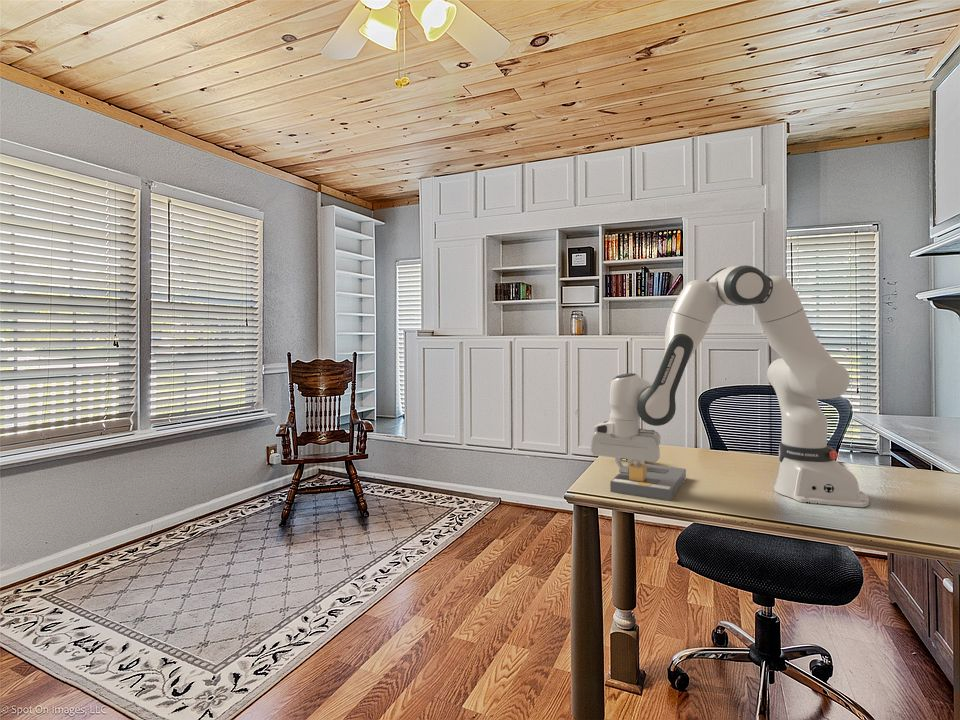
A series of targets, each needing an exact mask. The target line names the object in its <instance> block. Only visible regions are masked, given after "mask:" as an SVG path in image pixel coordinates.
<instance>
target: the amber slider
mask: <svg viewBox="0 0 960 720" xmlns="http://www.w3.org/2000/svg"><path fill="white" fill-rule="evenodd" d="M647 464H648V463H645V464H641V462H638V463H633V464H632V465H630V466H629V480H633V481H641V482H643V481H644V480H645V479H646V478H647Z"/></svg>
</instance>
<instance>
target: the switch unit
mask: <svg viewBox="0 0 960 720" xmlns="http://www.w3.org/2000/svg"><path fill="white" fill-rule="evenodd" d="M646 464H647V478H646V479H645V480H644V481H643V482H641V481H633V480H629V474H627V473H620V472H619V473H618V474H617V475H615V476H614V477H613V479H611V480H610V482H609V483H610V484H609V485H610V488H609V489H610V490H609V491H610V492H611V493H612V492H613V493H618V494H623V495H624V494H625V495H629V496H630V495H631V496H636V497H637V496H638V497H644V498H651V499H658V500H664V501H670V502H671V501H672V500H673V498H674V496H675V495H676V493H678V491H679V489H680V487H682V485H683V483H684V482H685V480H686V479H685V478H687V469H686V468H681V467H674V466H665V465H657V464H649V463H646ZM683 481H684V482H683ZM681 484H682V485H681Z"/></svg>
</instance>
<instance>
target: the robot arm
mask: <svg viewBox="0 0 960 720" xmlns="http://www.w3.org/2000/svg"><path fill="white" fill-rule="evenodd" d="M723 305H727V306H732V307H734V306H735V307H738V306H752V307H753V308H754V310H755V311H756V314H757V316H758V319H759V322H760V324H761V327H762V330H763V333H764V335H765V338H766V340H767V342H768V345H769V347H770V348H771V349H772V350H773V351H775V353H777V354H778V355H779V357H780V358H777V359H775V360H773V361H772V362H771V363H770V364H769V366H768V369H767V371H766V374H767V375H766V376H767V380H768V382H769V383H770V385H771V386H772V388H773V389H774V393H775V394H776V397H777V402H778V404H779V409H780V410H779V411H780V415H781V440H780V442H779V446H778V459H779V469H778V472H777V473H778V474H777V477H776V481H775V484H774V486H773V490H774V491H775V492H776V493H778V494H780V495H783V496H785V497H788V498H792V499H794V500H795V501H797V502H801V503H806V502H808V504H809V502H810V504H817V503H818V505H830V506H843V507H854V508H865V507H868V506H869V504H870V499H869V496H868V495H867V494H866V493H864V492H863V491H861V490H860V486H859V482H858V480H857V478H856V476H855V475H854V474H853V473H852V472H851V471H850V470H848V468H845V466H843V465H842V464H840V463H839V462H838V461H836V460H837V459H838V457H839V453H838V451H836V450H835V449H834V448H833V447H832V446H831V447H830V446H828V445H827V444H828V424H829V423H828V419H827V416H826V414H825V413H824V412H823V411H822V409H821V407H820V405H819V401H818V400H828V399H829V400H831V399H836V398H839V397H841V396H842V395H844V393H846V391H848V388H849V387H850V386H849V385H850V378H851V377H850V374H849V372H848V370H847V368H846V367H844V366H843V365H842V364H841V363H839V362H838V361H837V360H835V359H834V358H833V357H832V356H831V354H830V353H829V352H828V351H827V349H825V347H824V345H823V344H822V342H820V340H819V339H818V337H817V335H816V334H815V333H814V330H813V329H812V325H811V324H810V321H809V319H808V316H807V314H806V311H805V309H804V308H805V307H804V306H803V304H802V302H801V300H800V297H799V295H798V293H797V291H796V289H795V288H794V286H793V285H792V283H791V282H790V281H789V279H788V278H786V277H785V276H782V275H769V276H768V275H766V274H765V273H764V272H763V271H762V270H760V269H759V268H757V267H755V266H752V265H747V264H746V265H732V266H729V267H724V268H721V269H719V270H717V271H715V272H714V273H713V274H712V275H711V276H710V277H709V278H707V279H706V280H705V279H694V280H690V281H688V282H687V283H685V285H684V287H683V289H682V290H681V292H680V293H679V295H678V296H677V298H676V300H675V302H674V305H673V306H672V309H671V312H670V314H669V316H668V319H667V323H666V326H665V331H664V332H665V333H664V353H663V358H662V360H661V362H660V365H659V368H658V371H657V372H656V376H655V378H654V381H653V382H650V381H648V380H646V379H644V378H642V377H641V376H639V374H637V373H634V372H633V373H631V372H629V373H623V374H620V375H617V376H615V377H613V379H612V380H611V382H610V386H609V406H610V413H609V420H606V421H602V422H599V423H597V424H596V425H594V426H593V431H594V433H593V434H592V436H591V441H590V452H591V455H593V456H598V457H606V458H615V459H614V460H615V463H616V464H617V467H618V469H619V470H618V472H619V473H627V474H629V466H630V465H632V464H633V462H634V460H639V461H645V462H648V463H649V462H650V463H656V462H658V461H659V460H660V459H661V450H660V449H661V448H660V444H661V435H660V433H659V432H657V431H656V430H655V429H646V428H641V420H642V421H643V422H644V423H646V424H647V425H650V426H655V427H656V426H657V427H659V426H664V425H666V424H668V423H669V422H671V420H672V419H673V418H674V416H675V414H676V409H677V405H676V392H677V390H678V386H679V384H680V382H681V379H682V377H683V374H684V371H685V369H686V368H687V364H688V363H689V361H690V359H691V357H692V355H693V354H694V353H695V351H696V350H697V348H698V347H699V345H700V344H701V343H702V341H703V339H704V337H705V335H706V334H707V332H708V330H709V327H710V325H711V323H712V320H713V317H714V314H715V313H716V312H717V310H718V309H719V308H720V307H721V306H723ZM622 459H627V461H626V462H627V465H623V463H622V461H621V460H622ZM628 463H629V464H628Z"/></svg>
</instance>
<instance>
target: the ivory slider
mask: <svg viewBox="0 0 960 720" xmlns="http://www.w3.org/2000/svg"><path fill="white" fill-rule="evenodd" d="M638 462H641V464H646V461H639V460H634V462H633V463H638ZM628 464H629V463H628V462H627V465H628Z"/></svg>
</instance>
